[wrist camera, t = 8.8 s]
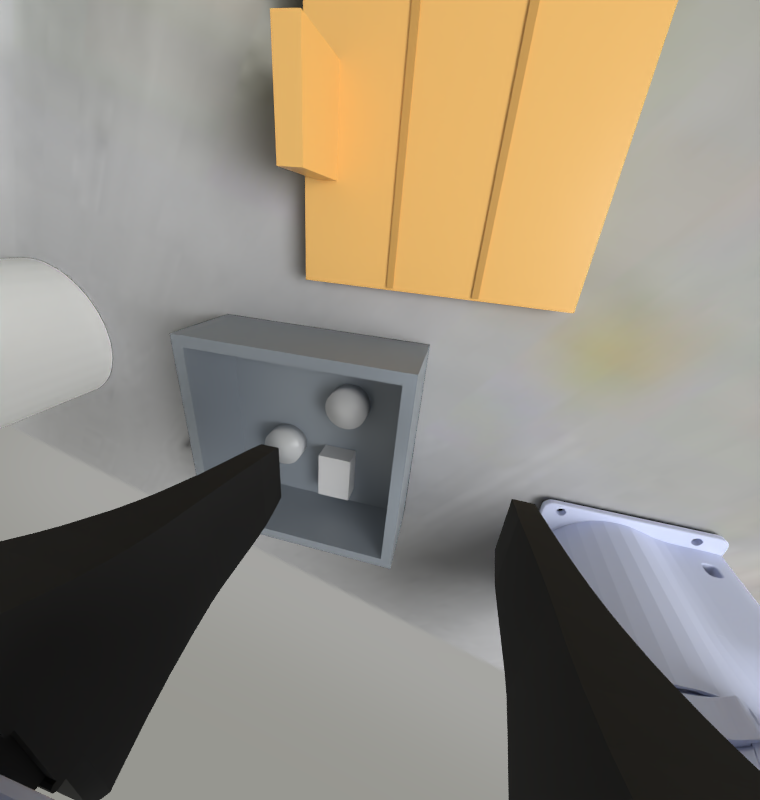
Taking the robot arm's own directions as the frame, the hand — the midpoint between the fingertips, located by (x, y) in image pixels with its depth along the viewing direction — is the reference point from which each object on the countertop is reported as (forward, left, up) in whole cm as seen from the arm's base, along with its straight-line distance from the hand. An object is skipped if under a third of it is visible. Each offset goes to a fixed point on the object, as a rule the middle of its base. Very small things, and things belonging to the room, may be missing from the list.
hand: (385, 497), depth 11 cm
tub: (+6, +4, -10) cm, 12 cm away
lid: (0, -11, -10) cm, 15 cm away
